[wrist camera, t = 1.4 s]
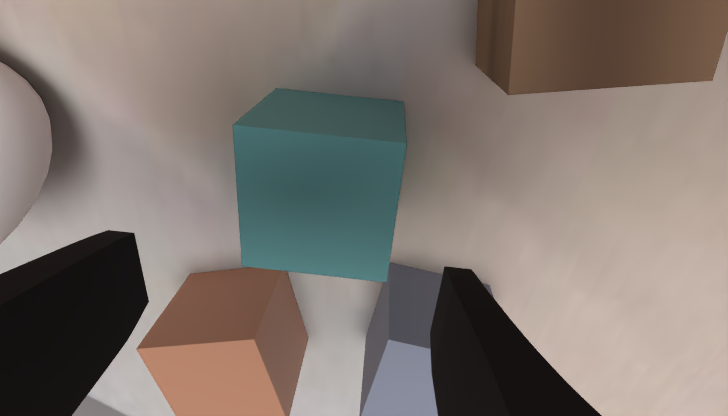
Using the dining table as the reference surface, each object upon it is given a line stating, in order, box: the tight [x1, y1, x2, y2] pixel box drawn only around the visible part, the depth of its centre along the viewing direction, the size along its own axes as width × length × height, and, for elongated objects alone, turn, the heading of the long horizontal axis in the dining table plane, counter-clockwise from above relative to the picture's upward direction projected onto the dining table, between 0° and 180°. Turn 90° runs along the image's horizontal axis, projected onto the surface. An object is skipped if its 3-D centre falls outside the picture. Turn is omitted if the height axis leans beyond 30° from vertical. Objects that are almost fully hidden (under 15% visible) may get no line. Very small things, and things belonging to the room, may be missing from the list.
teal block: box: [233, 88, 407, 282], centre depth 15 cm, size 5×5×5 cm
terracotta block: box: [136, 267, 308, 416], centre depth 19 cm, size 5×5×5 cm
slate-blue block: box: [360, 263, 494, 416], centre depth 19 cm, size 5×5×5 cm
